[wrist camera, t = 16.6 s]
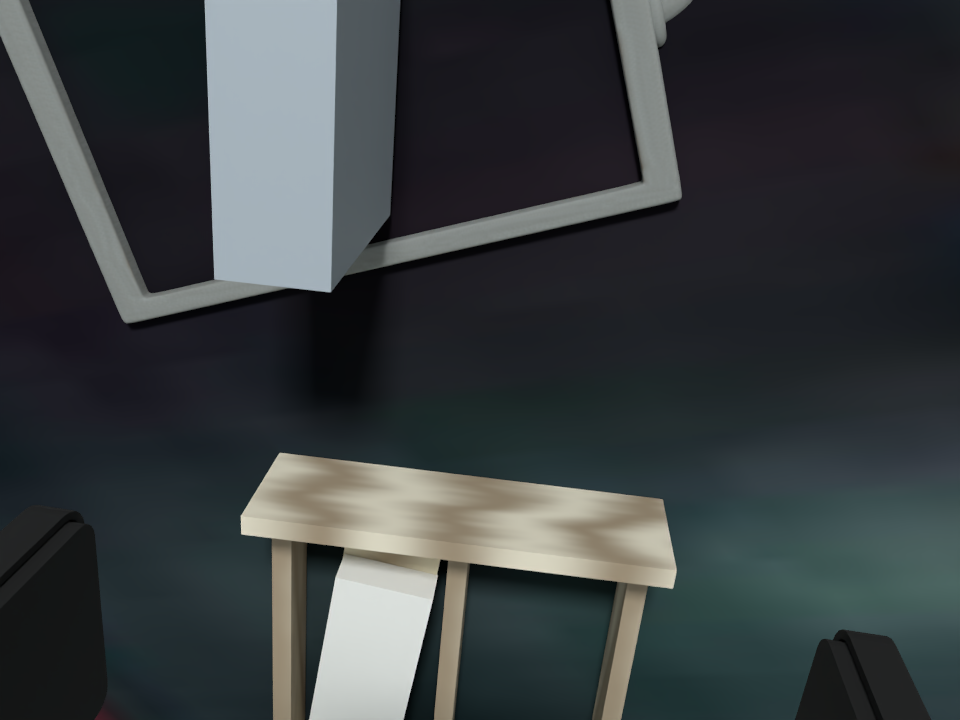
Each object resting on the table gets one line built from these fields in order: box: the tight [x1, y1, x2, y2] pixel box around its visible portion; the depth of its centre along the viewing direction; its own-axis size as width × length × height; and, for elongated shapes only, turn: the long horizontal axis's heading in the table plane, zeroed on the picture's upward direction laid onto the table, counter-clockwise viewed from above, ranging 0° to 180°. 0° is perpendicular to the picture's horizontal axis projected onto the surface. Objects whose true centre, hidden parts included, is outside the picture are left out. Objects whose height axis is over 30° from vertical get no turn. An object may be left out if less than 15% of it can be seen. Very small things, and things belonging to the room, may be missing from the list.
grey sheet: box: [205, 0, 400, 292], centre depth 32 cm, size 4×14×11 cm, turn 175°
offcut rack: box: [241, 453, 677, 720], centre depth 47 cm, size 20×21×6 cm
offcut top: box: [309, 554, 438, 720], centre depth 47 cm, size 5×12×2 cm, turn 167°
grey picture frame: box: [0, 0, 692, 323], centre depth 37 cm, size 19×2×30 cm
